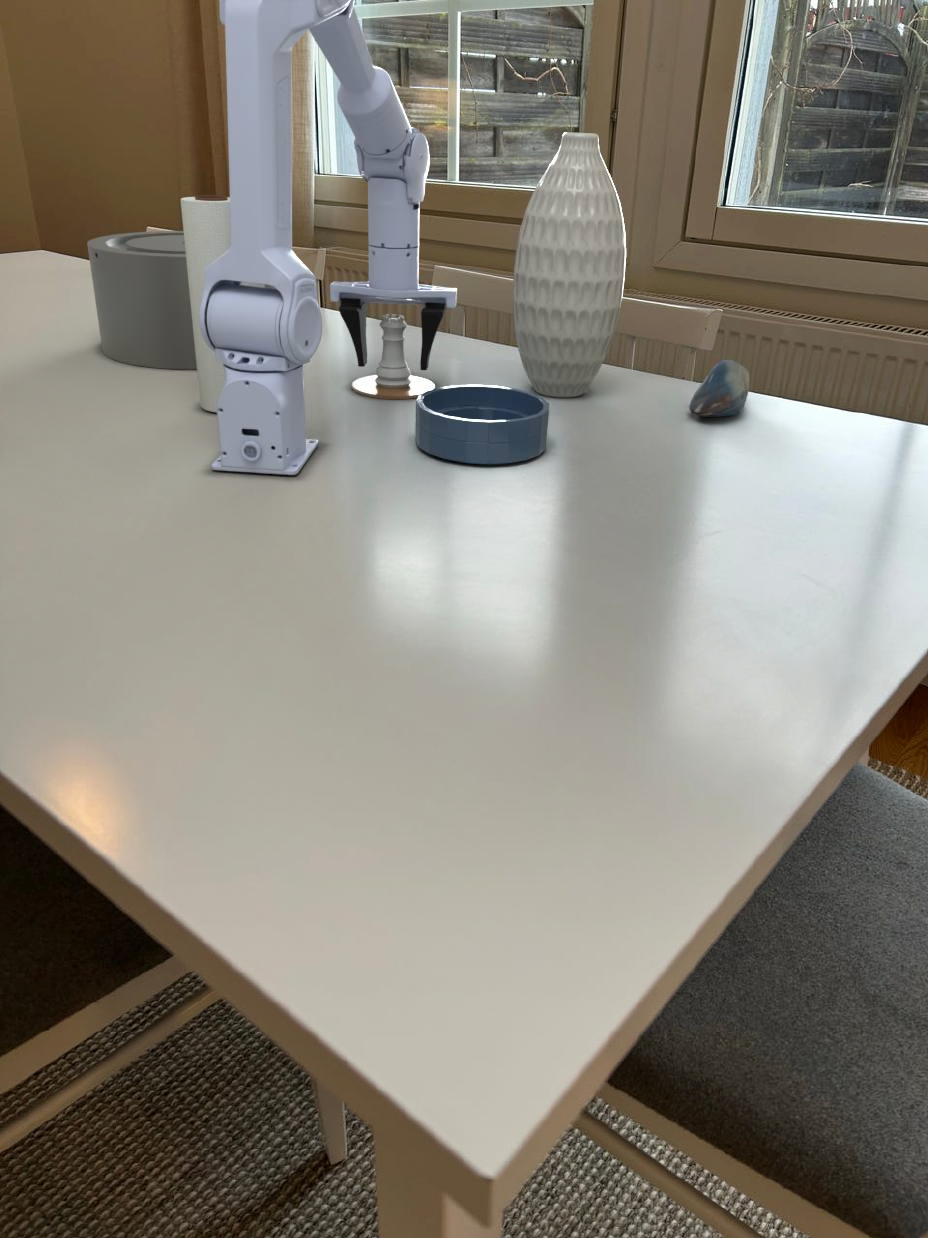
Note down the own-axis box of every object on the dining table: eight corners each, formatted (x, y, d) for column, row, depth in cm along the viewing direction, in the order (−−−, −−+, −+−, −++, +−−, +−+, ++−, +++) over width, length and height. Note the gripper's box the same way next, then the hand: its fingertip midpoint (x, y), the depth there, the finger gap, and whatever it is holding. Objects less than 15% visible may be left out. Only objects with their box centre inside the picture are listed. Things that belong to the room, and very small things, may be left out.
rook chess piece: (406, 390, 112) (407, 321, 109) (370, 387, 113) (369, 318, 109) (415, 381, 116) (416, 314, 112) (380, 378, 117) (380, 311, 113)
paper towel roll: (194, 413, 102) (172, 197, 92) (208, 398, 108) (189, 192, 98) (261, 416, 103) (246, 200, 92) (271, 400, 108) (259, 195, 98)
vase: (491, 381, 119) (503, 129, 106) (581, 375, 124) (604, 132, 110) (533, 408, 109) (553, 133, 96) (630, 401, 113) (662, 136, 100)
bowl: (545, 471, 90) (548, 425, 88) (407, 463, 91) (408, 417, 89) (546, 430, 102) (549, 388, 100) (424, 422, 103) (425, 381, 101)
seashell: (700, 403, 103) (775, 349, 103) (662, 391, 111) (731, 341, 111) (723, 450, 106) (796, 397, 106) (684, 434, 114) (751, 386, 114)
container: (72, 340, 130) (55, 236, 124) (234, 320, 145) (227, 227, 139) (154, 379, 114) (140, 262, 108) (327, 353, 129) (324, 249, 123)
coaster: (429, 401, 110) (429, 398, 110) (344, 396, 111) (344, 392, 111) (439, 379, 119) (439, 376, 119) (360, 375, 119) (360, 372, 119)
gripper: (460, 244, 110) (456, 362, 117) (337, 237, 111) (340, 355, 117) (455, 252, 104) (451, 376, 110) (324, 245, 105) (328, 368, 111)
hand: (393, 366), depth 114 cm, fingers open, 7 cm apart
